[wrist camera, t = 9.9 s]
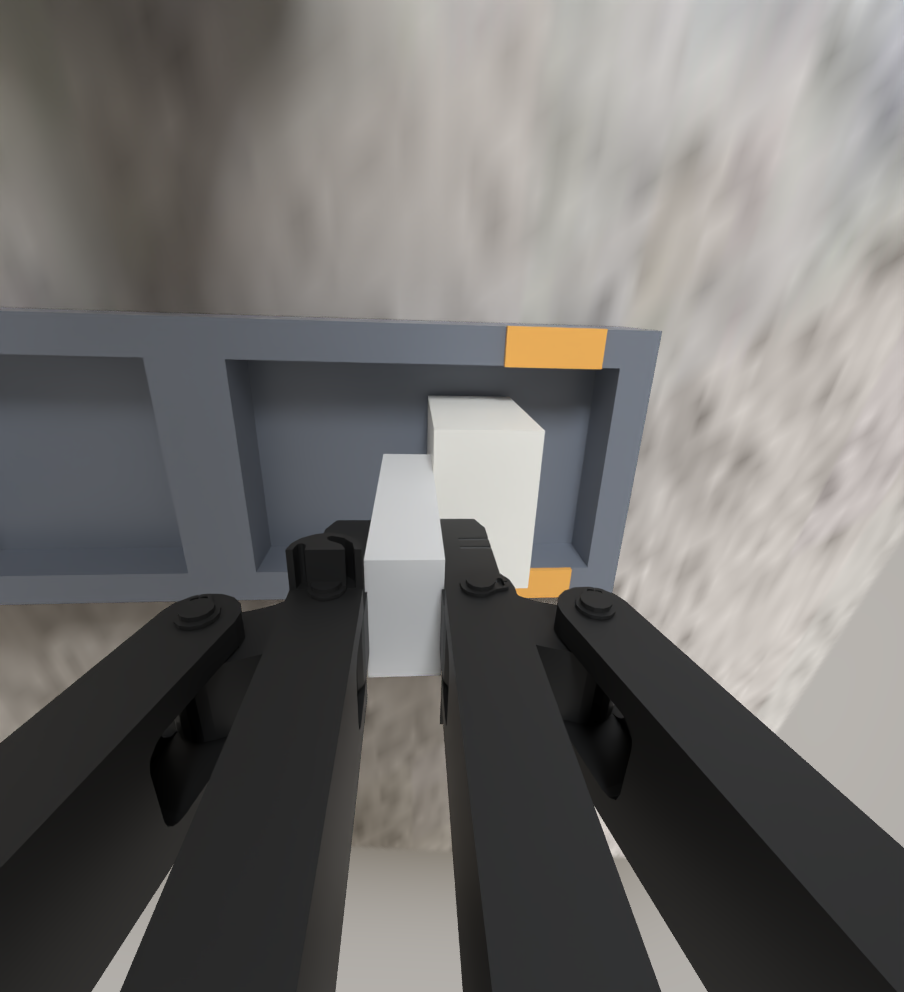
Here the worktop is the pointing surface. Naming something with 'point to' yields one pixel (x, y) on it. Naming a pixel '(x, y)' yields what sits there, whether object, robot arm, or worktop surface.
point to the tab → (488, 472)
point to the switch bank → (282, 442)
